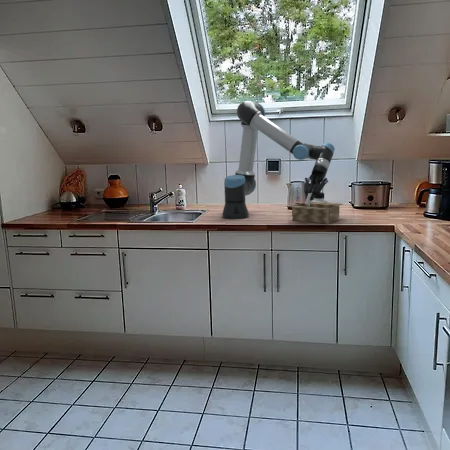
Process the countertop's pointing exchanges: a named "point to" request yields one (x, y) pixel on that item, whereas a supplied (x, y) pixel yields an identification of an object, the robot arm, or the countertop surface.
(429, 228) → the countertop surface
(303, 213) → the carton
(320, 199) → the medicine bottle
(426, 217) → the countertop surface
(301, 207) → the flap
